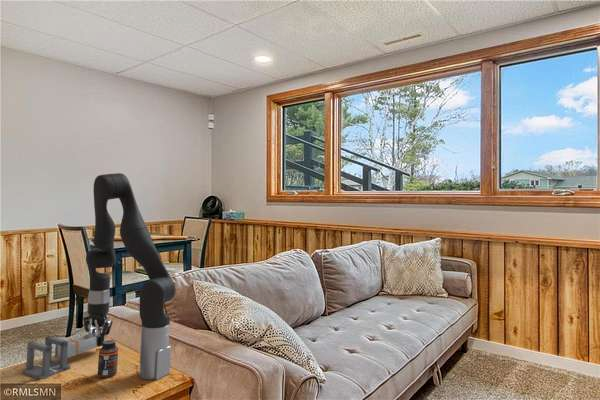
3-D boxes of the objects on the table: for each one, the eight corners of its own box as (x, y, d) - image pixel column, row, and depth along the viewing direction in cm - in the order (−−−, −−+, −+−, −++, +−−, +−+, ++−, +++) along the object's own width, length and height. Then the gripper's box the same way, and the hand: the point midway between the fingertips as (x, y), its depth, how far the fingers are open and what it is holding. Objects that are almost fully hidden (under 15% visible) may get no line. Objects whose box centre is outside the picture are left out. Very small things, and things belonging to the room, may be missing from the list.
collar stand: (51, 362, 138) (53, 335, 138) (69, 368, 134) (71, 340, 134) (22, 373, 128) (23, 343, 129) (40, 380, 124) (42, 349, 125)
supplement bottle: (108, 379, 127) (110, 345, 127) (93, 377, 128) (95, 343, 128) (120, 372, 132) (122, 339, 133) (105, 370, 134) (107, 337, 134)
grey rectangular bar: (104, 344, 150) (105, 332, 150) (62, 359, 134) (63, 346, 134) (97, 342, 151) (97, 331, 151) (54, 357, 136) (55, 344, 136)
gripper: (77, 300, 148) (75, 344, 148) (103, 305, 143) (100, 351, 142) (94, 296, 155) (92, 338, 155) (119, 301, 149) (117, 345, 149)
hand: (96, 344), depth 149 cm, fingers closed on grey rectangular bar, 4 cm apart
